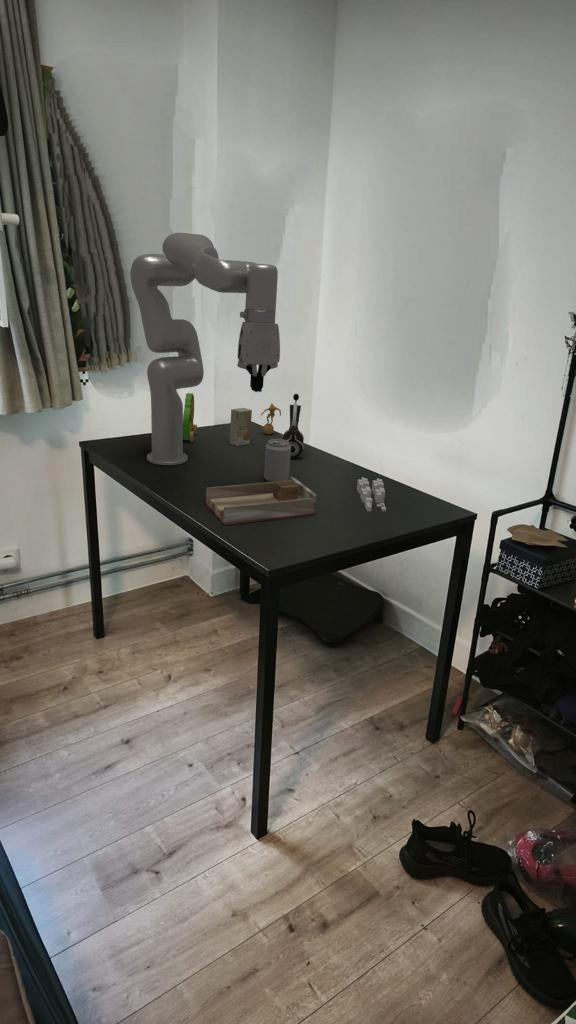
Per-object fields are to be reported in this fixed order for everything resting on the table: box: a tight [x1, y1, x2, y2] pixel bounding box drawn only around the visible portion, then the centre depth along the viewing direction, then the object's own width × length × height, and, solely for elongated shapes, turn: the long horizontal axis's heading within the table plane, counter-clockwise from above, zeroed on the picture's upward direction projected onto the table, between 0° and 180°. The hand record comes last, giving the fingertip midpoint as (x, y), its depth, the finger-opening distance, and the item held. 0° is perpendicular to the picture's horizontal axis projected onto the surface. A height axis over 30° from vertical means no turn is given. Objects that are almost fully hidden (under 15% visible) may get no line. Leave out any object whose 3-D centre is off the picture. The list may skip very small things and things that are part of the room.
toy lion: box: [183, 392, 198, 443], centre depth 222 cm, size 16×5×15 cm, turn 1°
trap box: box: [205, 476, 318, 526], centre depth 165 cm, size 15×25×6 cm, turn 115°
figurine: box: [260, 403, 282, 435], centre depth 232 cm, size 8×6×12 cm
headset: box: [281, 393, 305, 459], centre depth 210 cm, size 17×8×20 cm, turn 178°
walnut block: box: [273, 479, 299, 501], centre depth 167 cm, size 5×5×4 cm
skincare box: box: [229, 407, 253, 447], centre depth 218 cm, size 6×4×12 cm
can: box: [263, 438, 291, 482], centre depth 186 cm, size 8×8×12 cm
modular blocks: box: [356, 476, 387, 513], centre depth 176 cm, size 20×7×4 cm, turn 2°
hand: (256, 390), depth 164 cm, fingers closed
